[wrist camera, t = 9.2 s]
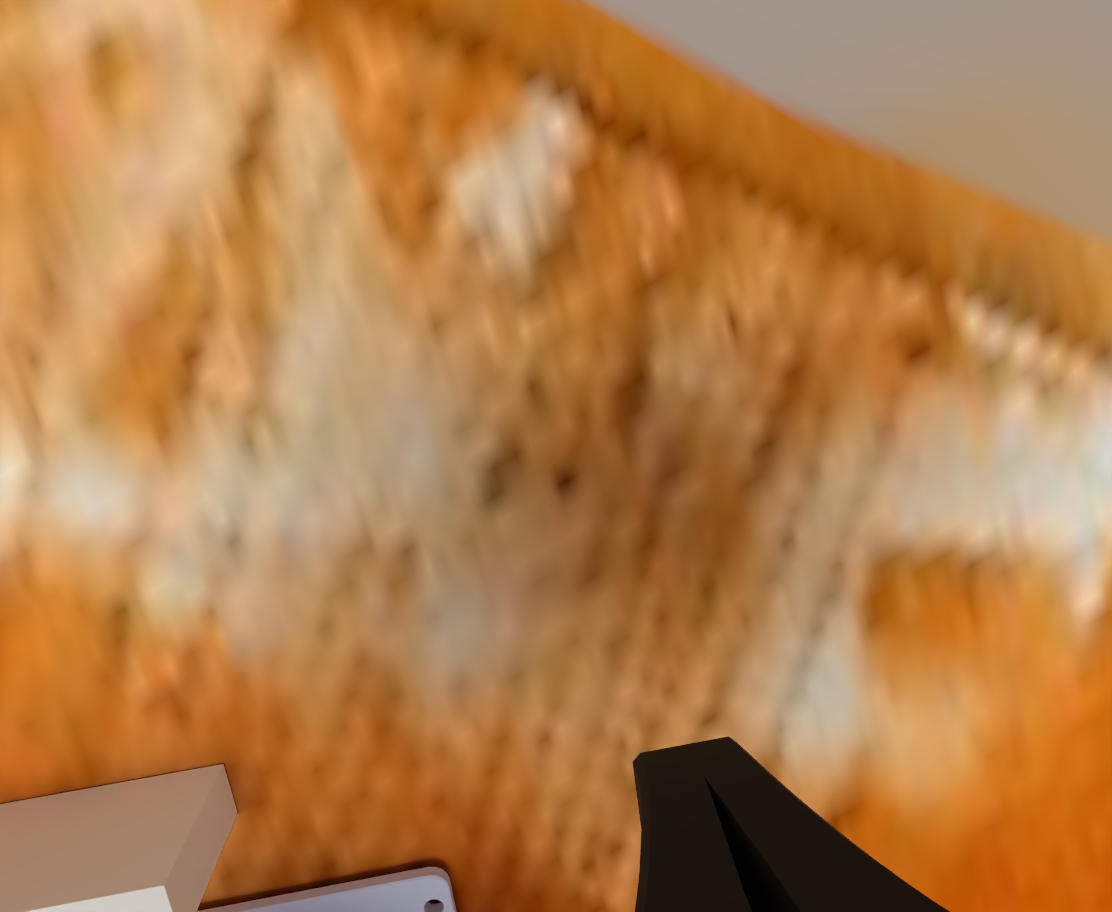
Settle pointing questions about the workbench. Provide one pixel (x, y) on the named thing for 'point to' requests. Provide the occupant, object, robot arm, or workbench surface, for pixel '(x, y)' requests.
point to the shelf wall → (116, 845)
